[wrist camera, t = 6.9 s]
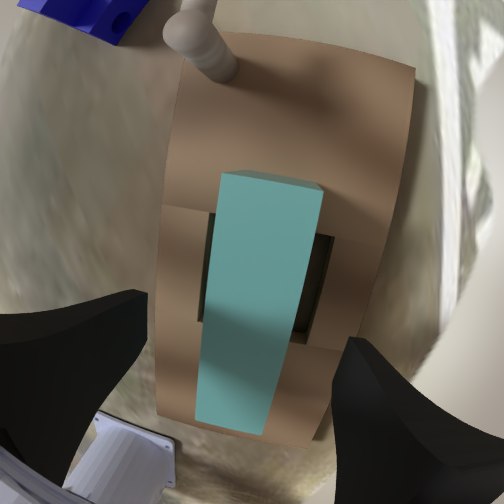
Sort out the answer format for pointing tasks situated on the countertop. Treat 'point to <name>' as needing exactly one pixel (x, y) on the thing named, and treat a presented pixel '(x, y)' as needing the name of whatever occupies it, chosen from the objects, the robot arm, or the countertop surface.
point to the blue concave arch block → (90, 15)
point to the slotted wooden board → (285, 164)
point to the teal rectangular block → (253, 293)
